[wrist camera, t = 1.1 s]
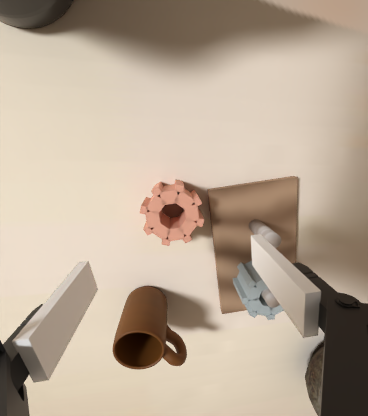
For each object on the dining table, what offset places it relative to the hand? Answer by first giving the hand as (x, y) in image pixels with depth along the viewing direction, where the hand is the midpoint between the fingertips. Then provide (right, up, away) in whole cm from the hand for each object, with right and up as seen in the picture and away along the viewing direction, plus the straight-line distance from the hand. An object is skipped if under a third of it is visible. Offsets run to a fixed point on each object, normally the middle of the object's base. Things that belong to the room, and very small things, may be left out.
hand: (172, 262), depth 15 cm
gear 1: (-1, +5, +16) cm, 16 cm away
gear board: (+13, -3, +19) cm, 23 cm away
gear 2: (+14, -8, +19) cm, 25 cm away
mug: (-4, -14, +21) cm, 26 cm away
